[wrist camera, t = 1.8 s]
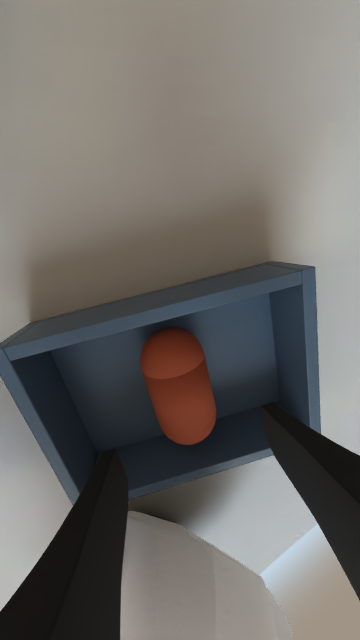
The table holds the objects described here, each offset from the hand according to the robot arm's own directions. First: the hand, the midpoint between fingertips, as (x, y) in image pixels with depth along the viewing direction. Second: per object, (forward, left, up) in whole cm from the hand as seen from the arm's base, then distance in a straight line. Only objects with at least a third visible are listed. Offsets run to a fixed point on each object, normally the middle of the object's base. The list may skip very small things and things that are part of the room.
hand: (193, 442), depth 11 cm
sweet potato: (0, 0, -7) cm, 7 cm away
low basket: (0, 0, -8) cm, 8 cm away
